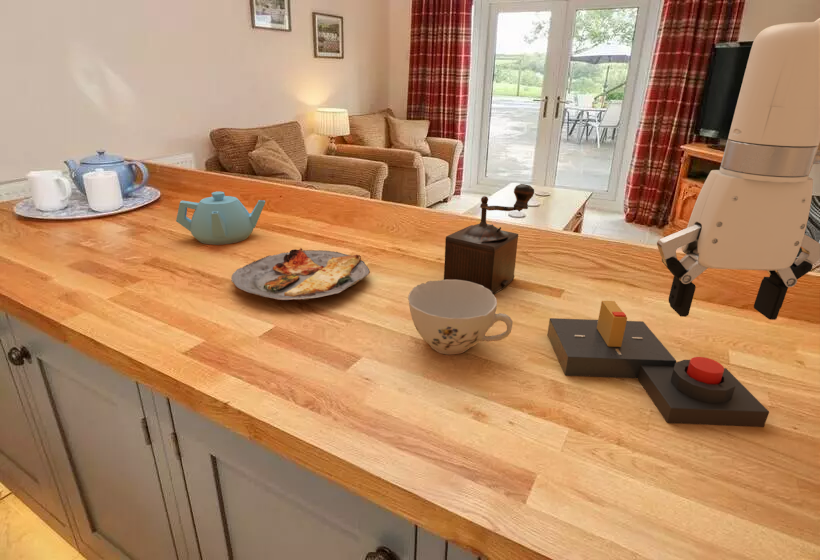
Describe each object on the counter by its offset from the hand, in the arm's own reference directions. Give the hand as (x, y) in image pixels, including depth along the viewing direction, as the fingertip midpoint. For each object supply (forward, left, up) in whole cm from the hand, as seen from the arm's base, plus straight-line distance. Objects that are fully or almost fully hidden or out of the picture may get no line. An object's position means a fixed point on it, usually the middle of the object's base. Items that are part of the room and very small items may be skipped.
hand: (721, 312), depth 56 cm
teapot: (+82, -58, -12) cm, 101 cm away
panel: (+8, -10, -12) cm, 18 cm away
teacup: (+29, -11, -12) cm, 33 cm away
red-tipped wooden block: (+8, -10, -9) cm, 16 cm away
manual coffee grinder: (+22, -38, -12) cm, 46 cm away
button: (0, 0, -9) cm, 9 cm away
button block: (0, 0, -12) cm, 12 cm away
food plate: (+57, -33, -12) cm, 67 cm away
